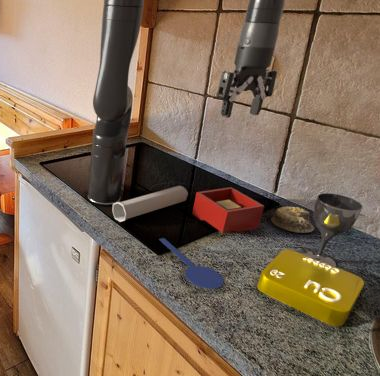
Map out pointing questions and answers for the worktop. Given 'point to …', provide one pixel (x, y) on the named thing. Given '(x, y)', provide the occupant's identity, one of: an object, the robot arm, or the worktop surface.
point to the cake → (292, 219)
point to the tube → (148, 203)
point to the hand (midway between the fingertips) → (239, 115)
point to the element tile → (311, 286)
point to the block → (228, 205)
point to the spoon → (197, 271)
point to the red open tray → (228, 219)
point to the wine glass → (333, 220)
